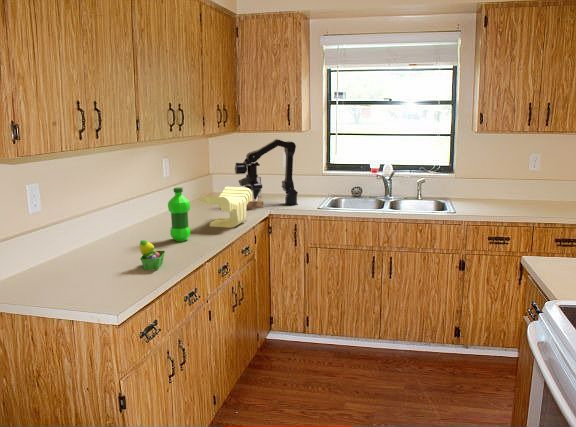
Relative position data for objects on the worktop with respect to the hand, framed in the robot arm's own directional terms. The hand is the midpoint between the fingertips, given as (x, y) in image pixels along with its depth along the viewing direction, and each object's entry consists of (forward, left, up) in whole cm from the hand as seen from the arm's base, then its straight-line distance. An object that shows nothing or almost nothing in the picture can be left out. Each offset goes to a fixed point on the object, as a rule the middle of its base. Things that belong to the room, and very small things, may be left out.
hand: (252, 198), depth 330 cm
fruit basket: (+79, +97, -6) cm, 125 cm away
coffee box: (-7, -18, -6) cm, 20 cm away
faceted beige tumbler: (0, 0, -2) cm, 2 cm away
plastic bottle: (+59, +60, -6) cm, 84 cm away
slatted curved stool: (+28, +39, -6) cm, 48 cm away
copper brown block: (0, 0, -6) cm, 6 cm away
